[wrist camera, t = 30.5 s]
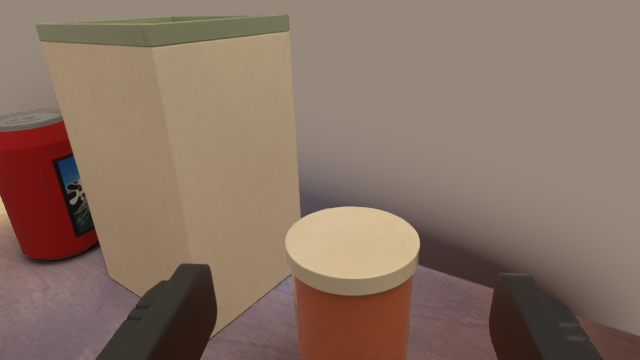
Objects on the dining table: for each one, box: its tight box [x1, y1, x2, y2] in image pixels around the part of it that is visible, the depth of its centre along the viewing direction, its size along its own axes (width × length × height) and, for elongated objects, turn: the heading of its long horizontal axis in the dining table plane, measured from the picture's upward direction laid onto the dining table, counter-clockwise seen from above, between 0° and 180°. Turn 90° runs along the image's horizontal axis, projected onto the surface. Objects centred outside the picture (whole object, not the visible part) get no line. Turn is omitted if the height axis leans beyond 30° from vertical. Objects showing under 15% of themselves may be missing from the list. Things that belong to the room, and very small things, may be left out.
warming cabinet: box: [36, 14, 301, 338], centre depth 29 cm, size 12×10×19 cm
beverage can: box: [0, 109, 98, 260], centre depth 35 cm, size 7×7×12 cm
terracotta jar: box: [285, 207, 420, 360], centre depth 19 cm, size 6×6×11 cm
